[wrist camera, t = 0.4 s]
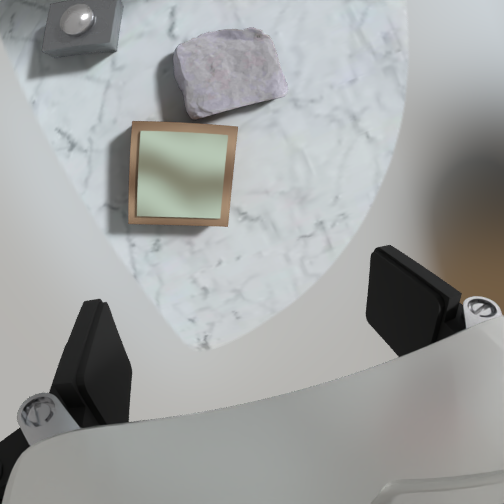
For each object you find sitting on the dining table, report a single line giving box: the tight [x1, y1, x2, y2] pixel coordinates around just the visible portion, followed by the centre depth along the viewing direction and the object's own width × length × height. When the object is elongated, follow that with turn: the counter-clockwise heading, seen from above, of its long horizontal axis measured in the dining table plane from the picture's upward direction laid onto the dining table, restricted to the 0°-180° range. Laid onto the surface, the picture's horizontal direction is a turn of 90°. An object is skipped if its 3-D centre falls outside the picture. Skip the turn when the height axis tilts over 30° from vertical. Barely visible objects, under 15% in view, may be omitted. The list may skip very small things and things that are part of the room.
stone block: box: [173, 27, 288, 120], centre depth 32 cm, size 12×5×10 cm
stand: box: [128, 121, 238, 227], centre depth 34 cm, size 11×11×4 cm
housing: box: [42, 0, 123, 58], centre depth 25 cm, size 6×8×6 cm
